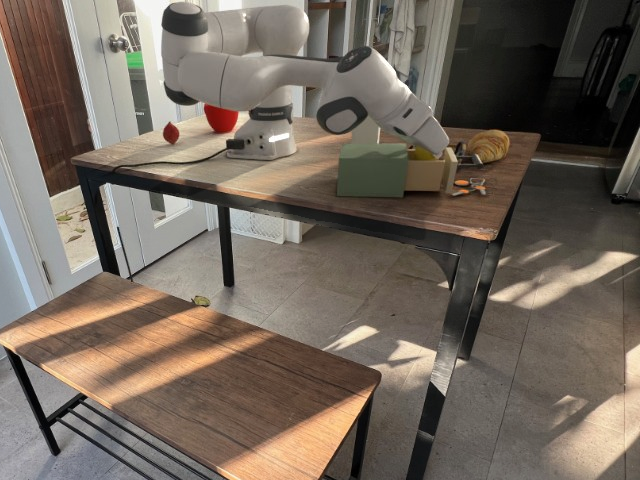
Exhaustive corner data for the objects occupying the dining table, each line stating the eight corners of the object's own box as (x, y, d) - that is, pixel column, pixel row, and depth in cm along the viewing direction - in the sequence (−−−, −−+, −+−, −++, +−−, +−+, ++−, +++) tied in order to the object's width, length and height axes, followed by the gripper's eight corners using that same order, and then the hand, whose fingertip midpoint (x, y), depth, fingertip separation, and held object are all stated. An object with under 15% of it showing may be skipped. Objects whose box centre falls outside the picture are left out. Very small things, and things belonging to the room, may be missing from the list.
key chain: (456, 178, 108) (457, 175, 108) (489, 181, 105) (490, 177, 105) (448, 196, 99) (449, 192, 99) (484, 200, 96) (485, 196, 96)
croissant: (485, 180, 115) (508, 155, 109) (453, 159, 117) (474, 133, 111) (502, 156, 128) (523, 133, 122) (473, 137, 130) (492, 113, 124)
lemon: (438, 174, 100) (445, 138, 95) (412, 174, 101) (418, 139, 97) (434, 167, 104) (440, 132, 100) (410, 167, 105) (415, 133, 101)
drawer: (470, 177, 106) (477, 147, 102) (478, 194, 97) (486, 161, 93) (386, 176, 111) (389, 147, 107) (386, 192, 102) (390, 161, 98)
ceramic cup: (219, 124, 178) (216, 97, 173) (247, 129, 168) (245, 101, 162) (194, 131, 172) (190, 104, 166) (221, 136, 161) (219, 107, 155)
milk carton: (377, 156, 128) (384, 85, 118) (375, 163, 123) (382, 90, 112) (352, 155, 130) (357, 86, 120) (349, 162, 125) (354, 90, 114)
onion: (161, 146, 156) (157, 123, 151) (169, 142, 160) (166, 119, 155) (175, 147, 154) (172, 123, 149) (183, 142, 158) (180, 119, 153)
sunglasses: (404, 155, 127) (407, 137, 124) (462, 157, 122) (466, 139, 119) (399, 170, 117) (401, 151, 114) (461, 174, 111) (466, 154, 108)
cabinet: (400, 179, 111) (405, 143, 106) (402, 197, 101) (408, 158, 96) (340, 179, 115) (342, 143, 110) (336, 195, 105) (338, 158, 100)
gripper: (364, 114, 103) (396, 151, 110) (410, 134, 86) (445, 176, 93) (383, 91, 101) (415, 130, 108) (434, 107, 84) (468, 152, 91)
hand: (429, 151), depth 100 cm, fingers closed on lemon, 5 cm apart
